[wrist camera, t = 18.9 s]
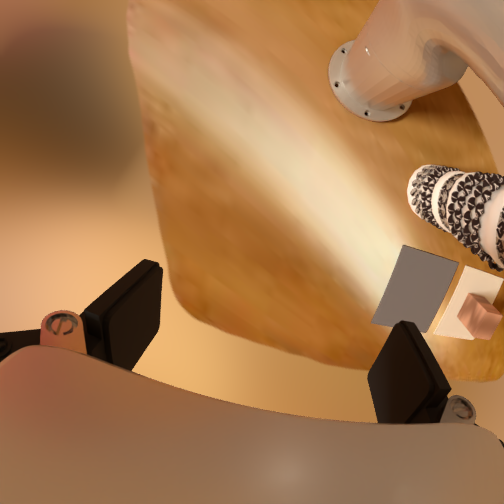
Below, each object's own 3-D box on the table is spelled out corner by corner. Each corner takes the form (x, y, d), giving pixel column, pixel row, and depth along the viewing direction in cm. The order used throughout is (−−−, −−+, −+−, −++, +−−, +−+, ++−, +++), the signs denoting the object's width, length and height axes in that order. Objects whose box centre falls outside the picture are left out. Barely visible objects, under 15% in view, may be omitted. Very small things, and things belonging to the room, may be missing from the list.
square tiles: (402, 245, 38) (403, 245, 38) (503, 278, 37) (503, 279, 37) (371, 322, 43) (371, 323, 43) (472, 339, 42) (473, 340, 42)
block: (468, 292, 39) (487, 311, 33) (484, 297, 39) (502, 315, 32) (456, 316, 41) (473, 337, 34) (472, 319, 41) (489, 339, 34)
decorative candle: (463, 195, 34) (580, 246, 11) (427, 234, 37) (531, 319, 14) (432, 149, 33) (560, 164, 10) (393, 190, 36) (507, 247, 13)
